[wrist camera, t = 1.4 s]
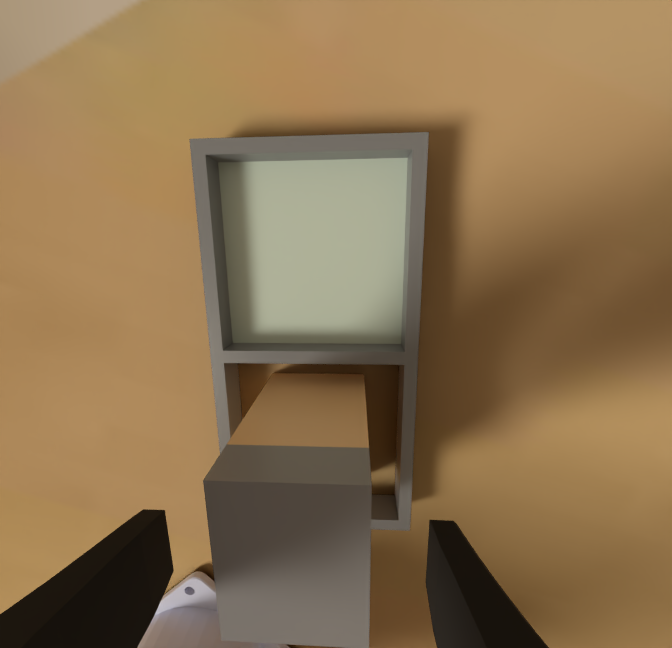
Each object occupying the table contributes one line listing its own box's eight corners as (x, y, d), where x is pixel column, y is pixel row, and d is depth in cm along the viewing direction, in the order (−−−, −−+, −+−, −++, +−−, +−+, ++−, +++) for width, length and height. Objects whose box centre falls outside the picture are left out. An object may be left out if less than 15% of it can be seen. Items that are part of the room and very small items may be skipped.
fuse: (362, 474, 16) (369, 649, 9) (278, 472, 16) (221, 640, 9) (364, 374, 15) (371, 485, 8) (272, 373, 15) (203, 480, 8)
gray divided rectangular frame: (404, 504, 16) (410, 530, 14) (238, 499, 16) (227, 524, 15) (420, 145, 12) (428, 132, 11) (208, 151, 13) (189, 138, 11)
